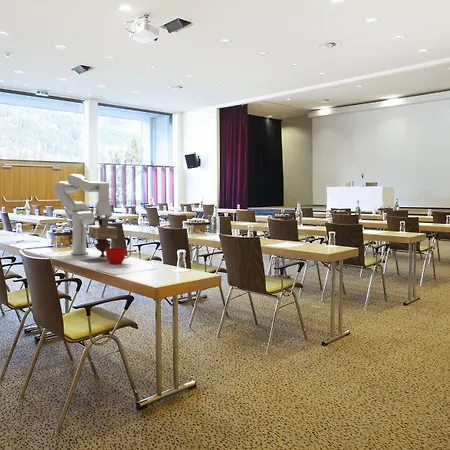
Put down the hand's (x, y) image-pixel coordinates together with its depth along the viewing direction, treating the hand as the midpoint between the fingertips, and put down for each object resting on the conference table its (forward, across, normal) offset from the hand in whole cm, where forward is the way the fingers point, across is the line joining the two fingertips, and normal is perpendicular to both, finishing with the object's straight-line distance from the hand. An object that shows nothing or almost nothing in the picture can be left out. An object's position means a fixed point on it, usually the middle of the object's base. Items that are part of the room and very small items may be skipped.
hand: (103, 224), depth 339 cm
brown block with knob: (+10, 0, 0) cm, 10 cm away
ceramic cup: (+24, +7, +32) cm, 41 cm away
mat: (+24, +14, +14) cm, 31 cm away
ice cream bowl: (+24, 0, 0) cm, 24 cm away
